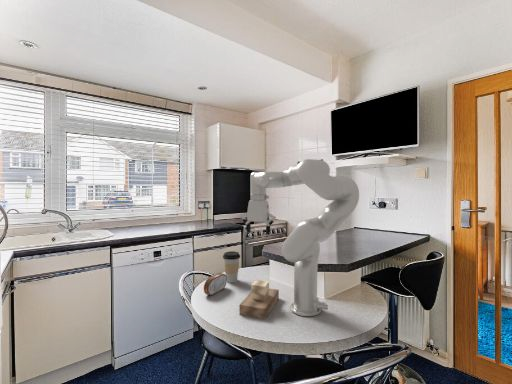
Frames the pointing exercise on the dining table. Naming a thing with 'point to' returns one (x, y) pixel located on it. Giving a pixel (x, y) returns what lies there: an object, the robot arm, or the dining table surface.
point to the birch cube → (260, 290)
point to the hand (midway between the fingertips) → (258, 233)
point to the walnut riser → (259, 305)
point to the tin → (215, 284)
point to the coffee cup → (231, 265)
